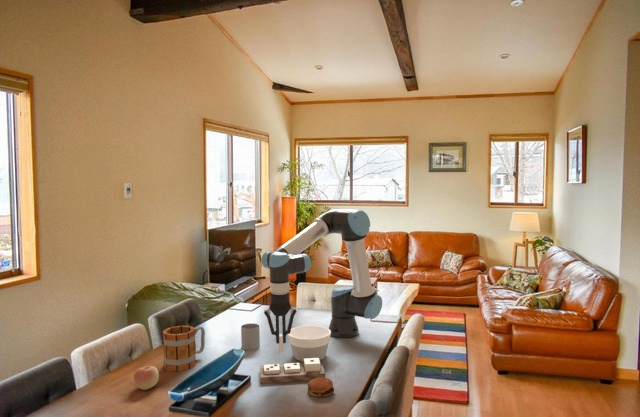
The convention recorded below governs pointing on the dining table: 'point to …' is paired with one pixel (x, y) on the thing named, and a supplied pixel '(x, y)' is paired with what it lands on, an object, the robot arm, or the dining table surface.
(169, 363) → the mug
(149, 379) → the peach
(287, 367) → the tile two
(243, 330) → the cup
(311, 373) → the board
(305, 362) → the tile one
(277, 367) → the tile three
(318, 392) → the burger
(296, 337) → the bowl
